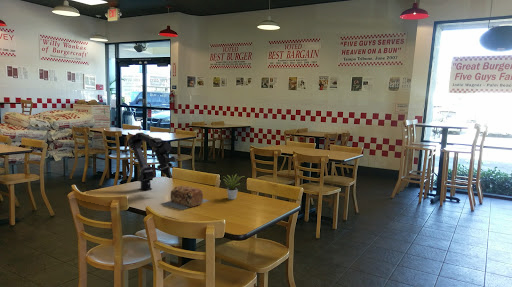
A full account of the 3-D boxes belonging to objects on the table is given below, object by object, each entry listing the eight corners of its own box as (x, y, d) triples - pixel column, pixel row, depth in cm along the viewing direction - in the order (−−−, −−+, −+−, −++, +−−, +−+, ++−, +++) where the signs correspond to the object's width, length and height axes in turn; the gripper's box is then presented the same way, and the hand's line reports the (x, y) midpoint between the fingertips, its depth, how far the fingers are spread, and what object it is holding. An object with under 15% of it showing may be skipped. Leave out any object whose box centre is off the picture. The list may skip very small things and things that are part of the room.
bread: (203, 204, 221) (203, 188, 220) (190, 208, 213) (190, 191, 212) (182, 198, 233) (182, 183, 231) (169, 201, 224) (169, 186, 223)
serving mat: (160, 204, 220) (160, 203, 220) (188, 196, 240) (188, 195, 240) (182, 210, 210) (182, 209, 210) (209, 201, 230) (209, 200, 230)
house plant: (241, 194, 247) (242, 171, 245) (247, 200, 234) (247, 175, 232) (220, 195, 243) (221, 171, 241) (225, 201, 230) (226, 176, 228)
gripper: (168, 151, 230) (178, 173, 230) (175, 151, 249) (184, 172, 248) (152, 158, 230) (162, 180, 229) (160, 158, 249) (169, 179, 248)
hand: (170, 178), depth 239 cm, fingers closed
